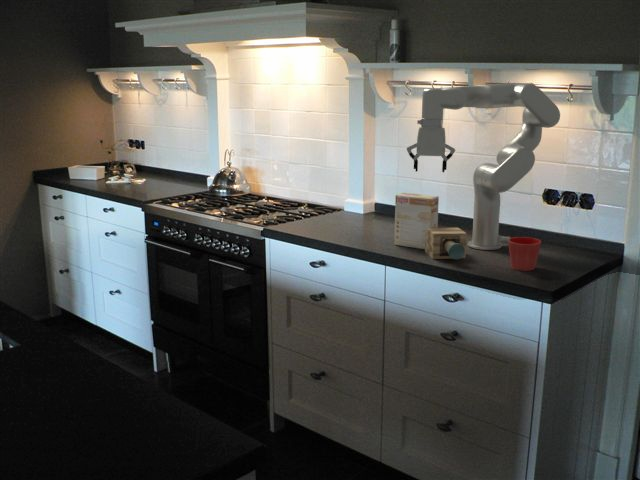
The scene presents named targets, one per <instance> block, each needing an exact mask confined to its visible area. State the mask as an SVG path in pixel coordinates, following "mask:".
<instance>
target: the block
mask: <svg viewBox="0 0 640 480" xmlns="http://www.w3.org/2000/svg"><path fill="white" fill-rule="evenodd" d="M467 233H468V232H465V231H464V230H462V229H461V228H459V227H458V226H457V227H437V228H426V241H425V249H424V252H425V253H426V255H428V256H429V257H430V258H431V259H432V260H437V259H439V260H442V259H449V260H450V259H452V258H451V257H450V256H449V254H448V252H447V251H446V250H445V249H444V248H443V241H444V240H445V239H450V240H452V241H453V242H454V243H459V244H461V245H462V246H463V247H464V249H465V253H464V255H463V257H462V258H461V259H466V256H467V253H466V252H467V238H468V237H467V236H468V234H467Z"/></svg>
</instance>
